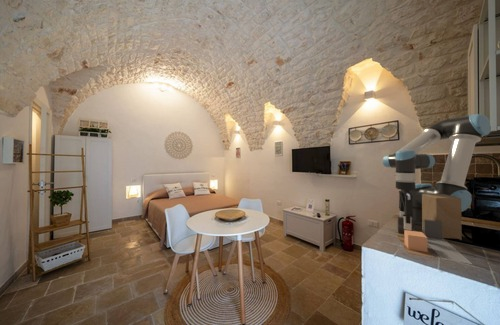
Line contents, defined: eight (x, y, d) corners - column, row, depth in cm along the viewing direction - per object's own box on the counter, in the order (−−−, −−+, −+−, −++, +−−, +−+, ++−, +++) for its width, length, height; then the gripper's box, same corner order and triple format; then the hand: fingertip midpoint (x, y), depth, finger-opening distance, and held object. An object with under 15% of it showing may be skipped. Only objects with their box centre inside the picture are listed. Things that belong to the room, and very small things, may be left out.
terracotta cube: (404, 243, 82) (404, 229, 82) (422, 246, 79) (422, 232, 79) (408, 249, 77) (408, 234, 77) (427, 252, 74) (427, 237, 74)
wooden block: (462, 240, 85) (462, 198, 85) (436, 239, 88) (436, 197, 87) (444, 232, 95) (444, 194, 95) (421, 231, 97) (421, 193, 97)
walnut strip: (395, 233, 95) (395, 216, 95) (415, 236, 91) (415, 218, 91) (407, 255, 74) (407, 233, 74) (434, 260, 70) (434, 236, 70)
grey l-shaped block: (420, 237, 90) (420, 219, 90) (443, 240, 86) (443, 221, 86) (441, 261, 69) (441, 237, 69) (472, 267, 65) (472, 242, 65)
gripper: (391, 178, 102) (392, 219, 103) (400, 183, 85) (400, 232, 85) (409, 179, 99) (409, 221, 99) (421, 184, 81) (422, 235, 82)
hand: (405, 226), depth 92 cm, fingers open, 7 cm apart
